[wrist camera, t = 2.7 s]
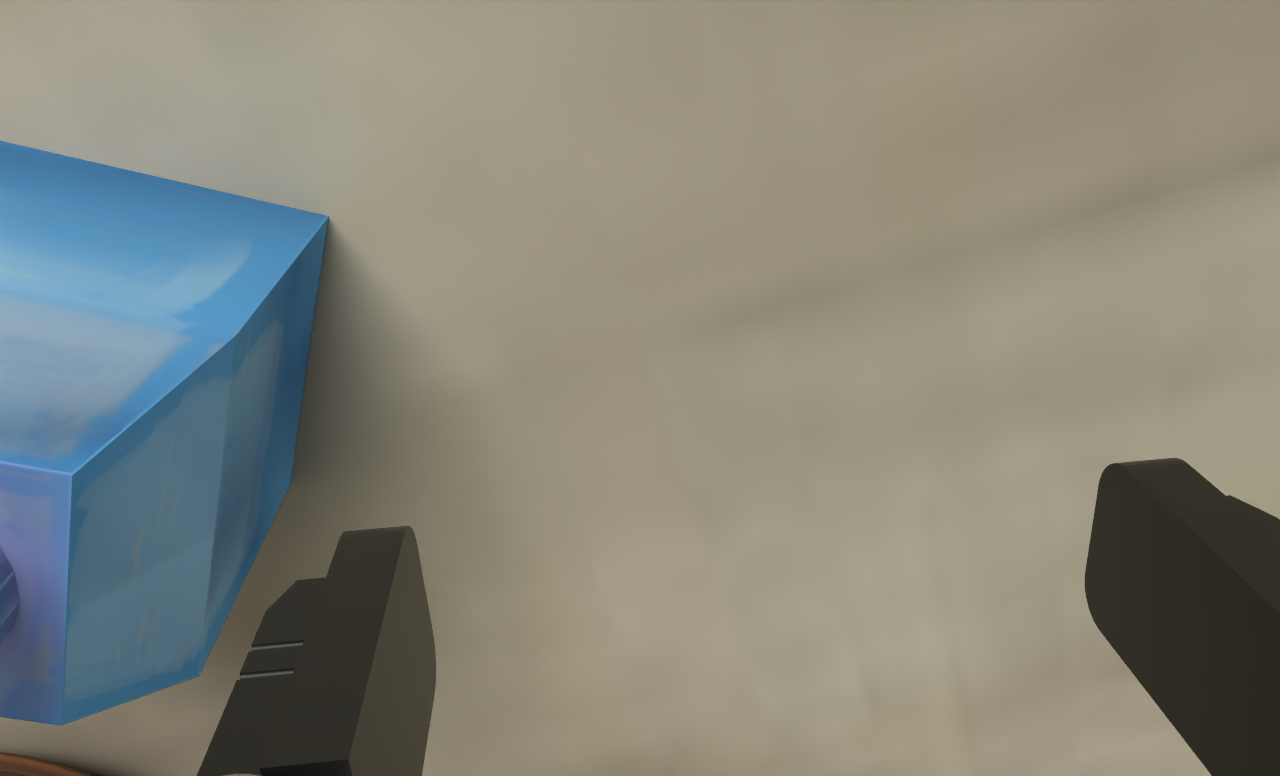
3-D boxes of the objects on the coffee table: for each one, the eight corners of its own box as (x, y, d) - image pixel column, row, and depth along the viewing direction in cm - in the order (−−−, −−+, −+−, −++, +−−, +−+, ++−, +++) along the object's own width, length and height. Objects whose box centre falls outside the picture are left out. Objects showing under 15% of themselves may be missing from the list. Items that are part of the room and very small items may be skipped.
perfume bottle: (290, 484, 22) (29, 1028, 11) (-14, 428, 21) (-621, 969, 10) (328, 216, 20) (43, 581, 9) (-12, 138, 19) (-809, 443, 8)
